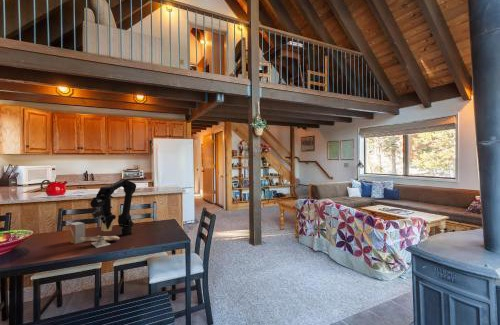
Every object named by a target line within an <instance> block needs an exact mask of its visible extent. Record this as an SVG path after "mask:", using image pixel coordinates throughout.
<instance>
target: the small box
mask: <svg viewBox="0 0 500 325" xmlns="http://www.w3.org/2000/svg"><path fill="white" fill-rule="evenodd" d="M68 225H69V226H68V228H69V233H68V234H69V236H68V237H69V238H68V239H69V242H68V243H71V244H75V245H77V243H78V244H82V243H85V242H86V241H82V240H81V239H80V237H86V224H85V222H82V221H75V222H71V223H69V224H68Z"/></svg>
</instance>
